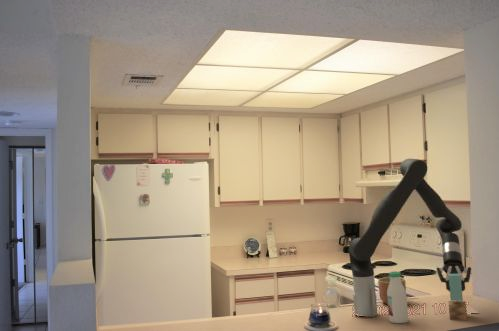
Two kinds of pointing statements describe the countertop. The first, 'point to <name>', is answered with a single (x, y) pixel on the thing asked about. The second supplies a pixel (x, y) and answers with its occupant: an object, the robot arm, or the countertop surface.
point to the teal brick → (455, 287)
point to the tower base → (458, 316)
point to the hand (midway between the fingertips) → (455, 290)
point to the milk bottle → (397, 299)
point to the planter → (386, 287)
